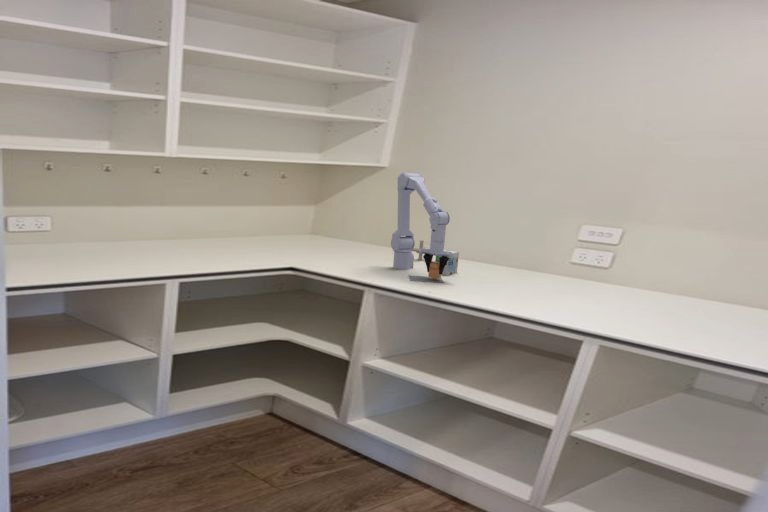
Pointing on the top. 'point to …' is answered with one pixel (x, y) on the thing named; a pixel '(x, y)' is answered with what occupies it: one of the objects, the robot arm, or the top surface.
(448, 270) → the light bulb box
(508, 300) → the top surface
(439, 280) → the faceplate
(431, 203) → the robot arm
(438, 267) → the knob
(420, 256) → the pipe connector
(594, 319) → the top surface
